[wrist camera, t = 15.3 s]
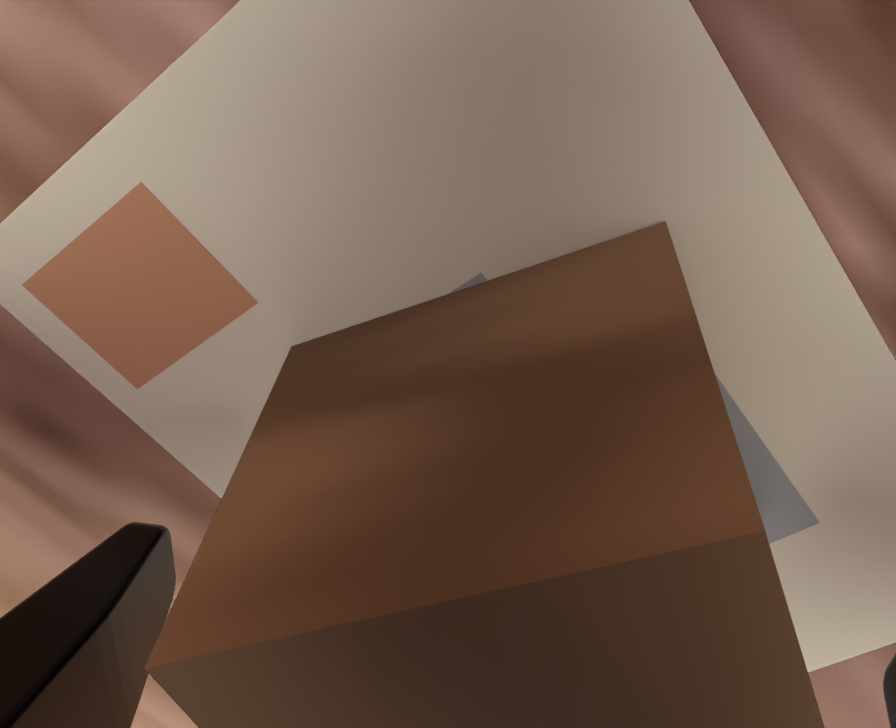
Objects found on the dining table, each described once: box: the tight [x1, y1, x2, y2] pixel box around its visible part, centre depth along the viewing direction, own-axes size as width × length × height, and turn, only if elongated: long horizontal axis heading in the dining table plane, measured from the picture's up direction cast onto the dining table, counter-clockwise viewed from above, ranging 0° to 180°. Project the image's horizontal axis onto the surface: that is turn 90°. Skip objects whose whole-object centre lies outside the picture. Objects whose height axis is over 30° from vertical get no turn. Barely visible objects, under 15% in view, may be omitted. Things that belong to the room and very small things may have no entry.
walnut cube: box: [144, 221, 824, 728], centre depth 9 cm, size 5×5×5 cm
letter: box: [0, 0, 896, 673], centre depth 12 cm, size 13×9×1 cm
